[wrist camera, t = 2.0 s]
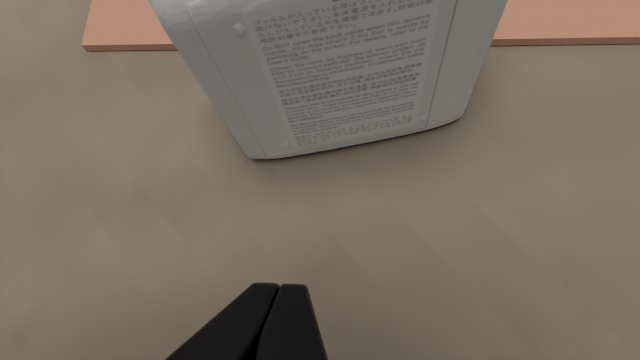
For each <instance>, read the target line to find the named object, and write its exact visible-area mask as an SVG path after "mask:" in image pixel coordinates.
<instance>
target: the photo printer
mask: <svg viewBox="0 0 640 360" xmlns="http://www.w3.org/2000/svg"><path fill="white" fill-rule="evenodd" d="M148 1H149V2H150V4H151V6H152V8H153V9H154V11H155V13H156V15H157V18H158V20H159V22H160V23H161V25H162V27H163V28H164V30H165V32H166V33H167V35H168V36H169V38H170V40H171V41H172V43H173V44H174V46H175V47H176V49H177V50H178V52H179V53H180V55H181V56H182V58H183V60H184V61H185V63H186V64H187V66H188V67H189V69H190V70H191V72H192V73H193V75H194V76H195V78H196V79H197V81H198V83H199V84H200V85H201V87H202V89H203V90H204V92H205V93H206V95H207V96H208V98H209V99H210V101H211V102H212V104H213V106H214V107H215V109H216V110H217V112H218V113H219V115H220V116H221V118H222V120H223V121H224V122H225V124H226V126H227V127H228V129H229V130H230V132H231V133H232V135H233V136H234V138H235V140H236V141H237V143H238V144H239V146H240V148H241V149H242V151H243V152H244V153H245V155H246V156H247V157H248V158H253V159H274V158H283V157H290V156H296V155H302V154H309V153H314V152H319V151H325V150H331V149H336V148H341V147H346V146H351V145H357V144H362V143H367V142H372V141H377V140H382V139H387V138H392V137H396V136H403V135H407V134H411V133H415V132H419V131H424V130H428V129H431V128H435V127H439V126H442V125H445V124H447V123H450V122H452V121H455V120H457V119H458V118H460V117H461V116H462V115H463V114H464V112H465V110H466V107H467V104H468V102H469V99H470V97H471V94H472V91H473V88H474V86H475V83H476V81H477V78H478V76H479V73H480V70H481V68H482V65H483V62H484V60H485V57H486V55H487V52H488V50H489V47H490V45H491V42H492V39H493V37H494V34H495V32H496V29H497V26H498V24H499V22H500V19H501V17H502V14H503V12H504V9H505V6H506V4H507V1H508V0H148Z"/></svg>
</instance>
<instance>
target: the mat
mask: <svg viewBox="0 0 640 360" xmlns="http://www.w3.org/2000/svg"><path fill="white" fill-rule="evenodd" d="M582 44H640V0H508V1H507V4H506V6H505V9H504V12H503V14H502V17H501V19H500V22H499V24H498V26H497V29H496V32H495V34H494V37H493V39H492V42H491V45H490V46H506V45H582ZM81 45H82V46H83V48H84V49H85V50H86V51H129V50H177V49H176V47H175V46H174V44H173V43H172V41H171V40H170V38H169V36H168V35H167V33H166V32H165V30H164V28H163V27H162V25H161V23H160V22H159V20H158V18H157V15H156V13H155V11H154V9H153V8H152V6H151V4H150V2H149V1H148V0H92V2H91V7H90V11H89V15H88V19H87V23H86V28H85V32H84V36H83V40H82V44H81Z"/></svg>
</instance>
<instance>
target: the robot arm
mask: <svg viewBox="0 0 640 360" xmlns="http://www.w3.org/2000/svg"><path fill="white" fill-rule="evenodd" d="M165 360H328V359H327V355H326V351H325V348H324V344H323V341H322V337H321V334H320V330H319V327H318V323H317V320H316V316H315V313H314V309H313V306H312V302H311V299H310V295H309V291H308V288H307V287H306V286H305V285H303V284H283V285H281V286H279V285H278V284H277V283H259V282H258V283H254V284H252V285H251V286H250V287H248V288H247V289H246V290H245V291H244V292H243V293H241V294H240V295H239V296H238V297H237V298H236V299H235V300H233V301H232V302H231V303H230V304H229V305H228V306H226V307H225V308H224V309H223V310H222V311H221V312H220V313H218V314H217V315H216V316H215V317H214V318H213V319H211V320H210V321H209V322H208V323H207V324H206V325H205V326H203V327H202V328H201V329H200V330H199V331H198V332H196V333H195V334H194V335H193V336H192V337H191V338H190V339H188V340H187V341H186V342H185V343H184V344H183V345H181V346H180V347H179V348H178V349H177V350H176V351H175V352H173V353H172V354H171V355H170V356H169V357H168V358H166V359H165Z"/></svg>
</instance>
